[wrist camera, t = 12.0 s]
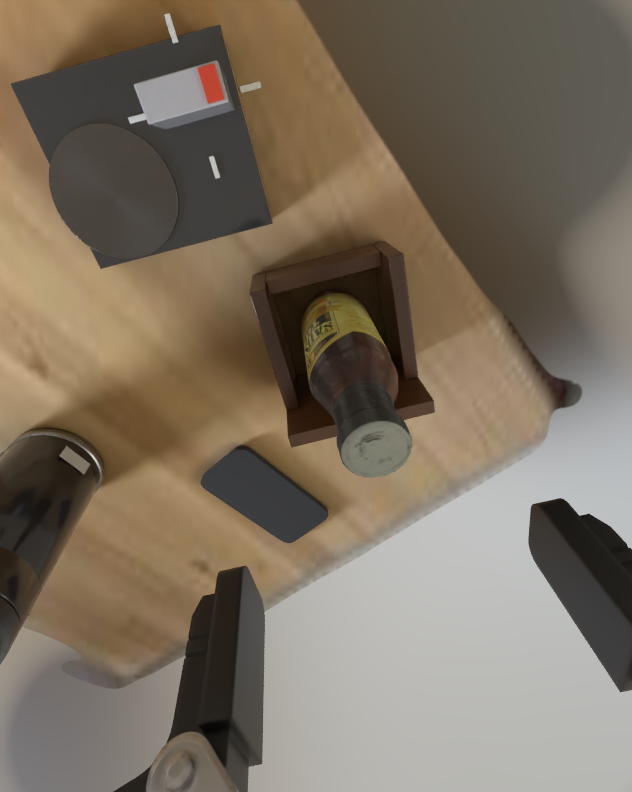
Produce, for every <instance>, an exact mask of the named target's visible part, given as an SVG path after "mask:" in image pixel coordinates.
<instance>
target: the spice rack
mask: <svg viewBox="0 0 632 792" xmlns="http://www.w3.org/2000/svg"><path fill="white" fill-rule="evenodd" d="M373 268H376V275H377V281H378V288H379V294H380V300H381V307H382V313H383V320H384V326H385V332H386V339H387V345H388V352H389V354H390V357H391V360H392V362H393V363H394V366H395V368H396V371H397V375H398V394H397V397H396V400H395V402H394V408H395V410H396V413H397V414H398V415H399V416H400V417H401V418H402V419H403V420H406V419H410V418H414V417H418V416H422V415H426V414H430V413H434V412H435V409H434V400H433V399H432V397H431V396H430V394H429V393H428V391H427V390H426V388H425V387H424V385H423V384H422V383H421V381H420V380H419V378H418V371H417V362H416V354H415V346H414V338H413V329H412V321H411V313H410V304H409V296H408V288H407V280H406V271H405V263H404V255H403V253H401V252H400V251H398V250H397V249H395V248H394V247H393V246H391V245H390V244H388V243H387V242H385V241H382V242H379V243H375V244H372V245H367V246H363V247H360V248H356V249H352V250H348V251H344V252H340V253H336V254H333V255H329V256H325V257H321V258H317V259H313V260H310V261H306V262H302V263H298V264H294V265H290V266H286V267H283V268H279V269H275V270H271V271H267V272H263V273H259V274H256V275H253V278H252V283H251V289H250V297H251V300H252V303H253V306H254V310H255V313H256V316H257V319H258V322H259V325H260V329H261V332H262V335H263V338H264V341H265V344H266V347H267V351H268V354H269V357H270V360H271V363H272V366H273V369H274V373H275V376H276V379H277V382H278V385H279V388H280V391H281V395H282V398H283V401H284V404H285V407H286V410H287V428H288V438H289V441H290V444H291V447H295V446H299V445H303V444H307V443H311V442H316V441H320V440H324V439H328V438H332V437H336V436H337V435H338V431H337V426H336V424H335V422H334V419H333V417H332V416H331V415H330V414H329V413H328V411H327V410H326V409H325V408H324V407H323V406H322V405H321V404H320V403H319V402H318V401H317V400H316V399H315V398H314V397H313V395H312V393H311V390H310V386H309V380H308V374H307V375H303V376H299V377H296V374H295V371H294V367H293V364H292V361H291V357H290V354H289V350H288V347H287V343H286V340H285V336H284V333H283V330H282V326H281V323H280V319H279V316H278V312H277V309H276V305H275V302H274V298H273V294H276V293H280V292H284V291H288V290H292V289H296V288H300V287H304V286H307V285H311V284H315V283H319V282H323V281H327V280H331V279H335V278H338V277H342V276H346V275H350V274H354V273H358V272H362V271H366V270H369V269H373Z"/></svg>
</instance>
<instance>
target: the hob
mask: <svg viewBox="0 0 632 792" xmlns="http://www.w3.org/2000/svg"><path fill="white" fill-rule="evenodd" d="M164 17H165V20H166V23H167V26H168V29H169V32H170V36H171V38H170V39H167V40H163V41H160V42H156V43H152V44H149V45H145V46H142V47H138V48H135V49H131V50H128V51H124V52H121V53H117V54H114V55H110V56H107V57H103V58H100V59H96V60H92V61H89V62H85V63H82V64H78V65H75V66H71V67H68V68H64V69H61V70H57V71H54V72H50V73H47V74H43V75H39V76H36V77H32V78H29V79H25V80H22V81H18V82H15V83H11V86H12V88H13V90H14V92H15V94H16V96H17V98H18V100H19V102H20V104H21V106H22V108H23V111H24V113H25V115H26V117H27V119H28V121H29V123H30V125H31V127H32V129H33V131H34V133H35V135H36V137H37V139H38V141H39V143H40V145H41V147H42V150H43V152H44V154H45V156H46V158H47V160H48V162H49V164H50V163H51V159H52V156H53V153H54V151H55V149H56V147H57V146H58V144H59V143H60V141H61V140H62V139H63V138H64V137H65V136H66V135H67V134H68V133H70V132H71V131H73V130H75V129H76V128H79V127H81V126H84V125H88V124H95V123H104V124H112V125H116V126H119V127H122V128H125V129H127V130H130V131H132V132H133V133H135V134H137V135H139V136H140V137H141V138H143V139H144V140H146V141H147V142H148V143H149V144H150V145H151V146H152V147H153V148H154V149H155V150H156V151H157V152H158V153H159V154H160V156H161V157H162V158H163V160H164V161H165V163H166V164H167V166H168V168H169V170H170V172H171V174H172V176H173V179H174V181H175V185H176V188H177V193H178V202H179V210H178V218H177V222H176V225H175V228H174V230H173V232H172V234H171V236H170V237H169V239H168V240H167V241H166V242H165V243H164V244H163V245H162V246H161V247H160V248H159V249H157V250H156V251H155V252H153V253H151V254H149V255H146V256H143V257H139V258H130V259H125V258H117V257H112V256H108V255H105V254H103V253H101V252H98V251H96V250H94V249H93V248H91V247H90V248H91V250H92V252H93V254H94V256H95V258H96V260H97V262H98V264H99V266H100V268H101V269H102V268H106V267H110V266H113V265H117V264H121V263H125V262H129V261H132V260H136V259H140V258H144V257H147V256H151V255H155V254H159V253H163V252H166V251H170V250H174V249H178V248H181V247H185V246H189V245H193V244H197V243H200V242H204V241H208V240H212V239H216V238H219V237H223V236H227V235H231V234H234V233H238V232H242V231H246V230H250V229H253V228H257V227H261V226H265V225H269V224H272V223H273V218H272V214H271V210H270V206H269V202H268V199H267V195H266V191H265V187H264V183H263V180H262V176H261V172H260V168H259V165H258V161H257V157H256V153H255V149H254V146H253V142H252V138H251V134H250V131H249V127H248V123H247V119H246V115H245V112H244V108H243V104H242V100H241V96H240V93H239V89H238V85H237V81H236V78H235V74H234V70H233V66H232V62H231V59H230V55H229V51H228V47H227V44H226V40H225V36H224V34H223V31H222V29H221V26H220V25H216V26H212V27H209V28H205V29H202V30H198V31H195V32H191V33H188V34H184V35H181V36H177V35H176V32H175V28H174V25H173V22H172V19H171V16H170V13H168V14H164ZM215 60H217V61H218V63H219V65H220V66H221V68H222V70H223V72H224V74H225V76H226V79H227V83H228V86H229V90H230V93H231V97H232V101H233V104H234V108H235V110H234V111H230V112H227V113H223V114H220V115H216V116H213V117H209V118H205V119H202V120H198V121H195V122H191V123H188V124H184V125H181V126H177V127H173V128H170V129H163V128H159V127H156V126H153V125H150V124H148V122H147V120H146V117H145V114H144V112H143V109H142V106H141V103H140V101H139V98H138V95H137V93H136V90H135V87H134V84H135V83H138V82H142V81H145V80H149V79H152V78H156V77H159V76H163V75H166V74H170V73H173V72H177V71H180V70H184V69H187V68H191V67H194V66H198V65H201V64H205V63H208V62H212V61H215ZM259 88H261V84H260V81H258V82H255V83H251V84H247V85H244V86H240V90H241V93H245V92H248V91H252V90H256V89H259Z"/></svg>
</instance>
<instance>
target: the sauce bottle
mask: <svg viewBox="0 0 632 792" xmlns="http://www.w3.org/2000/svg"><path fill="white" fill-rule="evenodd" d="M301 330H302V337H303V344H304V352H305V359H306V366H307V373H308V380H309V386H310V390H311V393H312V395H313V397H314V398H315V399H316V400H317V401H318V402H319V403H320V404H321V405H322V406H323V407H324V408H325V409H326V410H327V411H328V413H329V414H330V415H331V416H332V417H333V419H334V422H335V424H336V426H337V431H338V435H337V447H338V450H339V453H340V457H341V460H342V462H343V464H344V465H345V466H346V468H348V469H349V470H350V471H351V472H353V473H355V474H356V475H359V476H363V477H370V478H374V477H381V476H385V475H388V474H390V473H392V472H395V471H396V470H397V469H399V468H400V467H401V466H402V465H403V464H404V463H405V462H406V461H407V459H408V458H409V455H410V452H411V448H412V439H411V436H410V433H409V430H408V428H407V426H406V424H405V422H404V420H403V419H402V418H401V417H400V416H399V415H398V414H397V413H396V410H395V408H394V402H395V400H396V397H397V394H398V375H397V371H396V368H395V366H394V363H393V362H392V360H391V357H390V354H389V352H388V350H387V348H386V346H385V344H384V342H383V340H382V338H381V337H380V335H379V333H378V331H377V329H376V327H375V326H374V324H373V322H372V320H371V318H370V316H369V314H368V312H367V310H366V309H365V307H364V306H363V305H362V304H361V302H360V301H359V300H358V299H357V298H356V297H354V296H353V295H351V294H349V293H348V292H345V291H342V290H336V289H335V290H327V291H325V292H322V293H320V294H318V295H316V296H315V297H314V298H313V299H312V300H311V301H310V303H309V304H308V306H307V307H306V308H305V312H304V314H303V319H302V324H301Z"/></svg>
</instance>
